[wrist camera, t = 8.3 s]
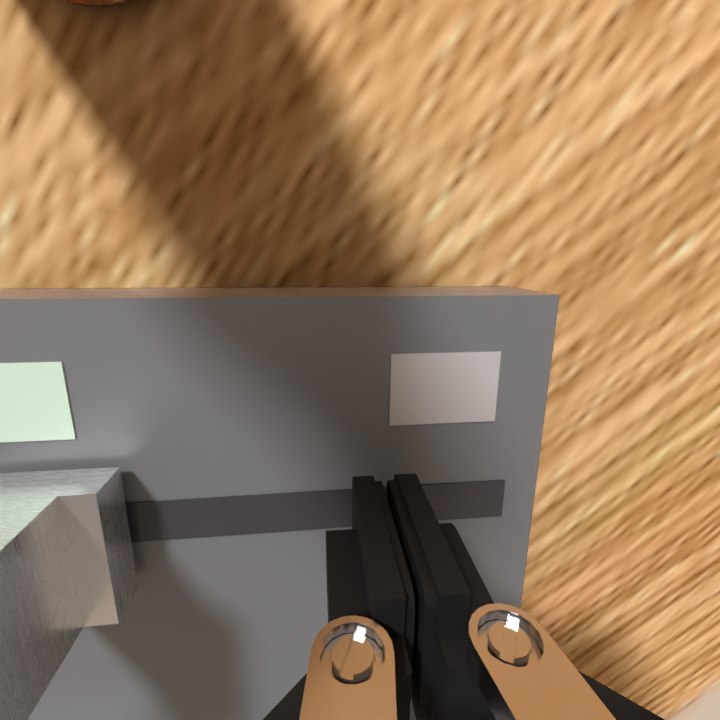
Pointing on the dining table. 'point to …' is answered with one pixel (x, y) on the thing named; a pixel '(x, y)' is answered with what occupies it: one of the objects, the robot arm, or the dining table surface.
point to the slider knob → (57, 572)
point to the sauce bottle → (96, 2)
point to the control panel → (266, 460)
